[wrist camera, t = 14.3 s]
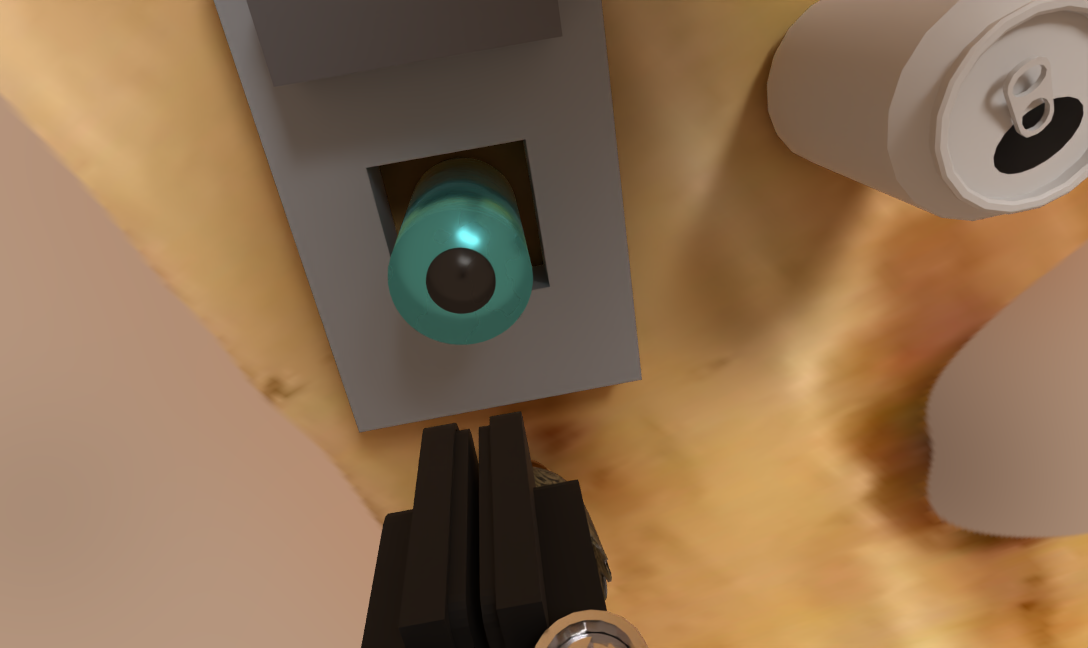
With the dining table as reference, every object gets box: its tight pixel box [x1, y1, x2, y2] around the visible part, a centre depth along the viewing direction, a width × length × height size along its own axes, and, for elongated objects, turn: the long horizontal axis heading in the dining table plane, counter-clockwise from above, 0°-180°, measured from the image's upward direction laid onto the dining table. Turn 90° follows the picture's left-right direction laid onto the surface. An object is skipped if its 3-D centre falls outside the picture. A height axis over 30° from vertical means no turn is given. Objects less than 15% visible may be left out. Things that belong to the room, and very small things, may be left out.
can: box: [767, 0, 1088, 221], centre depth 25 cm, size 8×8×12 cm
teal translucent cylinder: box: [388, 158, 533, 345], centre depth 27 cm, size 5×5×9 cm
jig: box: [214, 0, 642, 432], centre depth 27 cm, size 22×14×6 cm, turn 9°
